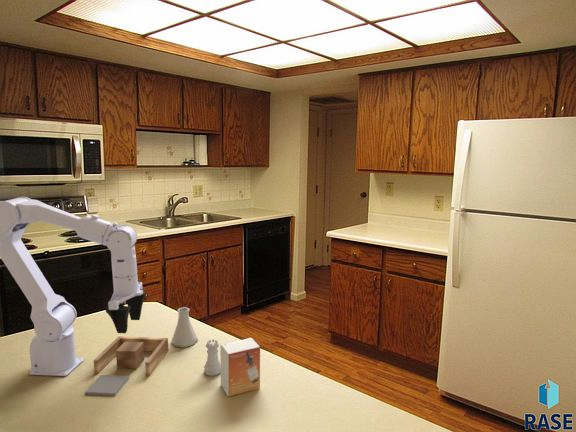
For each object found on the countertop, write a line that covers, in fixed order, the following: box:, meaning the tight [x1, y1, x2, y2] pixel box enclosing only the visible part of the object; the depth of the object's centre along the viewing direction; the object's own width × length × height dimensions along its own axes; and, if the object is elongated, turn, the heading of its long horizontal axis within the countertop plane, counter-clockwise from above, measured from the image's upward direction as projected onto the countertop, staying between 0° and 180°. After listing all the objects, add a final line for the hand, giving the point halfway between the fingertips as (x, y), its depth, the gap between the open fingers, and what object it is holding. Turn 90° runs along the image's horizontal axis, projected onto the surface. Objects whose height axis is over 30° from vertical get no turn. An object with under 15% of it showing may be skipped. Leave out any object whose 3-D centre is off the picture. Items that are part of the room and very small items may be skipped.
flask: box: [170, 306, 199, 348], centre depth 115 cm, size 7×7×10 cm
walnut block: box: [115, 342, 145, 371], centre depth 103 cm, size 5×5×5 cm
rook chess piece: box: [203, 339, 221, 377], centre depth 100 cm, size 4×4×8 cm
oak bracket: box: [93, 336, 169, 377], centre depth 105 cm, size 14×13×4 cm
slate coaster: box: [84, 374, 130, 397], centre depth 94 cm, size 7×7×1 cm
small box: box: [219, 337, 261, 398], centre depth 93 cm, size 8×6×10 cm
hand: (129, 325), depth 102 cm, fingers open, 7 cm apart
